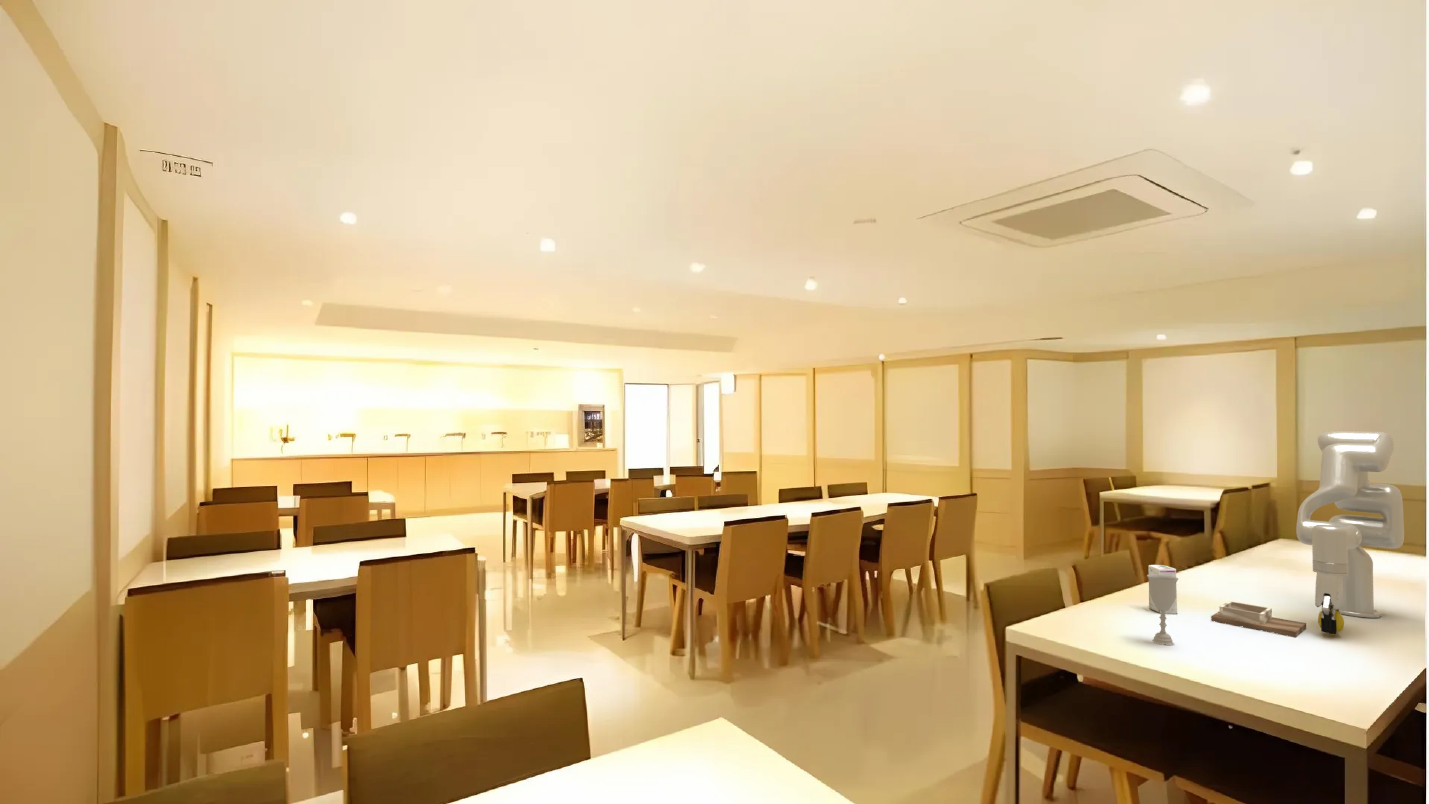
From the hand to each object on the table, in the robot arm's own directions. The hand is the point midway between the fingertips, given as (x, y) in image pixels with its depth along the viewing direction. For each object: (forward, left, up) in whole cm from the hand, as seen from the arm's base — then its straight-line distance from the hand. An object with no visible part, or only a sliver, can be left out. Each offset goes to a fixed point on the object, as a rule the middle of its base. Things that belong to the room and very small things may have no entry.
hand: (1331, 630), depth 194 cm
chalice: (+47, -28, -2) cm, 55 cm away
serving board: (+4, -16, -1) cm, 17 cm away
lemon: (0, 0, -2) cm, 2 cm away
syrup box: (+11, -39, -2) cm, 41 cm away
